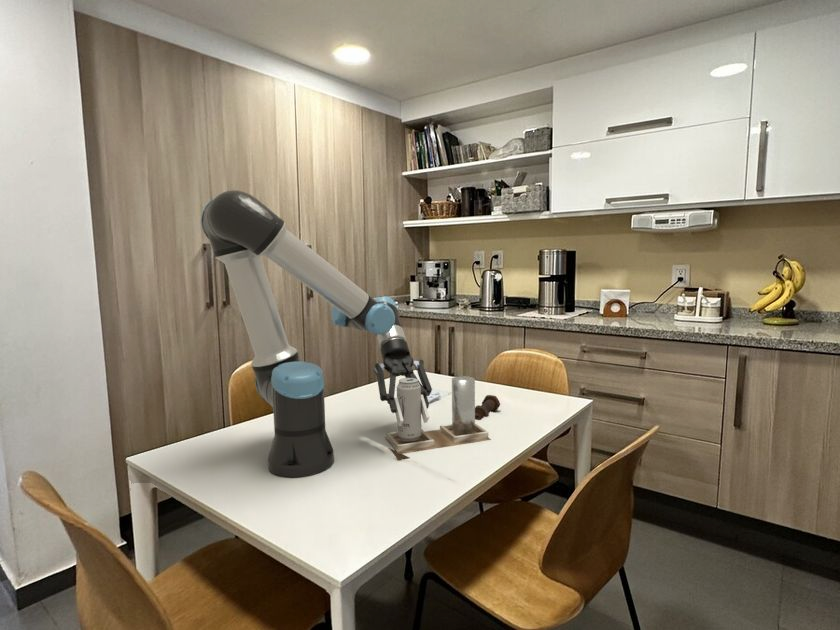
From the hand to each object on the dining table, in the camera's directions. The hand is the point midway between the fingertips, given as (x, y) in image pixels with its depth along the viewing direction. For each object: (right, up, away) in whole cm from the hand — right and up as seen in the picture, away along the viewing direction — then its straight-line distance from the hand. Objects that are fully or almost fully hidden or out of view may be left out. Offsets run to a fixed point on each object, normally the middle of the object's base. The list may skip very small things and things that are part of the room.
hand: (413, 421), depth 117 cm
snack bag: (+1, -3, +52) cm, 52 cm away
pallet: (+6, -7, +7) cm, 12 cm away
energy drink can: (-1, -5, +4) cm, 7 cm away
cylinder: (+13, -5, +9) cm, 17 cm away
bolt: (+21, -5, +28) cm, 35 cm away
